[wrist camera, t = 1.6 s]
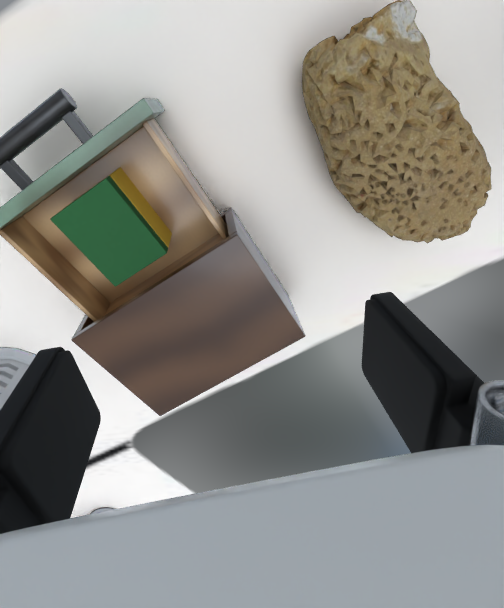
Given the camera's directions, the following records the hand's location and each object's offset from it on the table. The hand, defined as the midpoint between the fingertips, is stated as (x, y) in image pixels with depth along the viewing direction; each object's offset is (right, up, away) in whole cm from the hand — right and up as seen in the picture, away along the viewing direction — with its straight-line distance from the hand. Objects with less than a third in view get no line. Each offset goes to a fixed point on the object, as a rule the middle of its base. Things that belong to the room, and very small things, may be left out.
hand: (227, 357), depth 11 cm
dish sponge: (-11, +9, +21) cm, 25 cm away
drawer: (-12, +11, +21) cm, 26 cm away
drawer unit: (-5, +3, +27) cm, 28 cm away
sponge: (+13, +17, +22) cm, 30 cm away
